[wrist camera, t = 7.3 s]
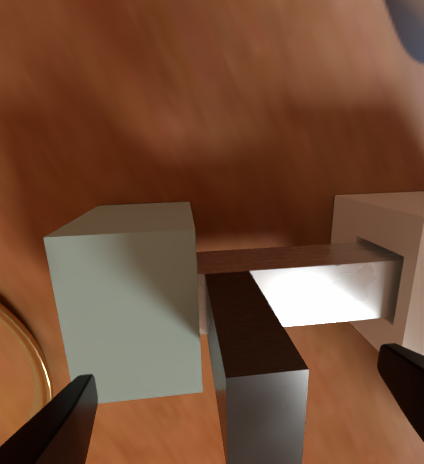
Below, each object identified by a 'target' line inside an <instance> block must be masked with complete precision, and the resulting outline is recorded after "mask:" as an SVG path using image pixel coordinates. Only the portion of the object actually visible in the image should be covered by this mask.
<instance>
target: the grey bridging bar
mask: <svg viewBox="0 0 424 464" xmlns="http://www.w3.org/2000/svg"><path fill="white" fill-rule="evenodd" d="M196 259H197V281H198V303H199V325H200V334H207V338H208V345H209V352H210V358H211V365H212V372H213V379H214V385H215V392H216V399H217V406H218V413H219V419H220V426H221V433H222V440H223V447H224V453H225V460H226V464H302V455H303V442H304V428H305V415H306V402H307V388H308V375H309V369H308V367H307V365H306V364H305V362H304V360H303V359H302V357H301V355H300V354H299V352H298V350H297V349H296V347H295V346H294V344H293V342H292V341H291V339H290V337H289V336H288V334H287V332H286V331H285V329H284V327H286V326H297V325H308V324H319V323H330V322H341V321H352V320H363V319H374V318H386V317H395V312H396V305H397V299H398V293H399V287H400V281H401V274H402V268H403V262H404V256H402V255H399V254H397V253H395V252H392V251H390V250H388V249H386V248H383V247H381V246H379V245H377V244H374V243H372V242H370V241H368V242H351V243H335V244H319V245H303V246H287V247H270V248H254V249H238V250H222V251H206V252H196Z"/></svg>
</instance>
